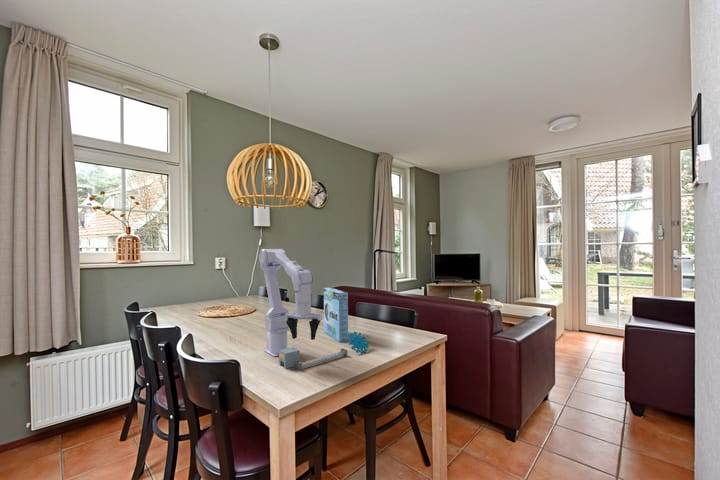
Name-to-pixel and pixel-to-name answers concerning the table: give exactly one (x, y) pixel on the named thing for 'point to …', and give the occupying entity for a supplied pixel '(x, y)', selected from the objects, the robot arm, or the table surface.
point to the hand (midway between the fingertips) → (303, 338)
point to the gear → (358, 342)
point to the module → (289, 357)
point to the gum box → (336, 314)
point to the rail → (321, 360)
